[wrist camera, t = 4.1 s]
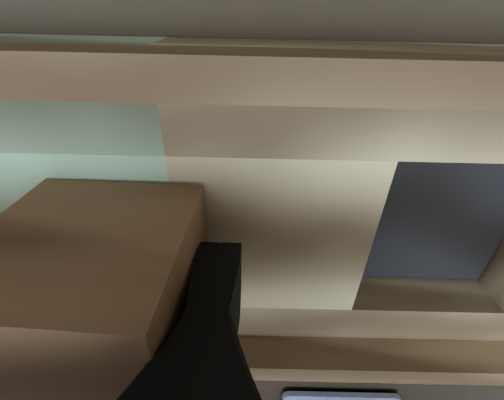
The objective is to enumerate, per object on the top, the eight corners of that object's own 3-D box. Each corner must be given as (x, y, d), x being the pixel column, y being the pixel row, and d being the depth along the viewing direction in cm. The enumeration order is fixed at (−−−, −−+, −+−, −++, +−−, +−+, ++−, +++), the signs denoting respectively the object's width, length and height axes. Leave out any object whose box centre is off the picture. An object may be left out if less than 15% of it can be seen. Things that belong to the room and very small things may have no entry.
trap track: (647, 320, 16) (733, 390, 13) (51, 307, 16) (6, 374, 13) (964, 54, 9) (1300, 79, 6) (-98, 31, 9) (-266, 44, 6)
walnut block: (212, 294, 12) (178, 448, 8) (89, 285, 12) (-6, 432, 8) (203, 186, 9) (144, 337, 5) (46, 178, 10) (-133, 316, 5)
